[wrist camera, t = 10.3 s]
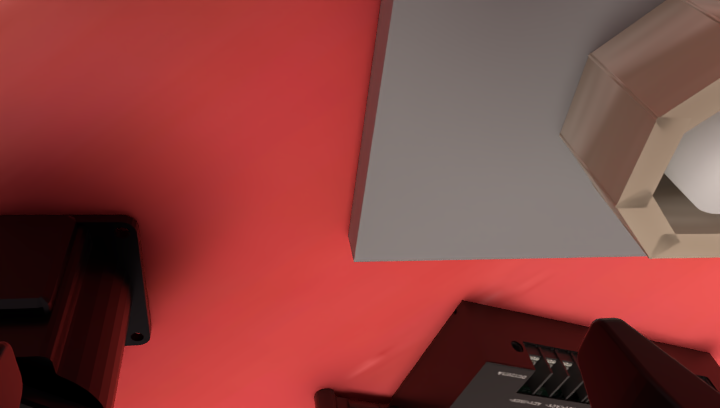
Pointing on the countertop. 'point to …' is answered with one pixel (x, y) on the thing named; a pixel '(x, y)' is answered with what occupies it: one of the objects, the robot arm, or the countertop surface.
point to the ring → (650, 123)
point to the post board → (494, 134)
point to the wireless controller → (505, 365)
